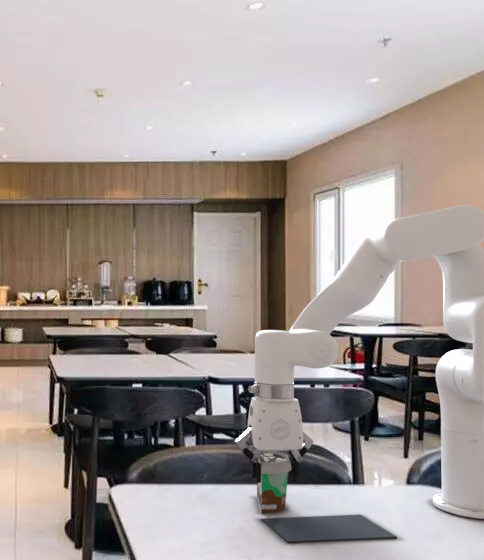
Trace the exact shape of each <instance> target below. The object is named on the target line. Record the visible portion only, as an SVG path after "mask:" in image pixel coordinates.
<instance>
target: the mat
mask: <svg viewBox="0 0 484 560" xmlns="http://www.w3.org/2000/svg"><path fill="white" fill-rule="evenodd" d="M260 520H261V522H263V524H265V525H266V526H267V527H268V528H269V529H271V530H272V531H273V532H274V534H276V535H278V536H279V538H281V539H282V540H283V541H284V542H286V543H287V544H298V543H299V544H302V543H303V544H304V543H305V544H306V543H322V542H324V543H325V542H345V541H347V542H348V541H369V540H391V539H393V540H395V539H398V536H397V535H395V534H393V533H391V532H390V531H388V530H387V529H385V528H383V527H382V526H380V525H378V524H377V523H376V522H374V521H372V520H370V519H369V518H367V517H365V516H363V515H362V514H345V515H343V514H341V515H318V516H316V515H315V516H293V517H292V516H291V517H272V518H271V517H269V518H268V517H267V518H260Z"/></svg>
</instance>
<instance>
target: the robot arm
mask: <svg viewBox="0 0 484 560" xmlns="http://www.w3.org/2000/svg"><path fill="white" fill-rule="evenodd" d="M483 242H484V210H483V209H481V208H480V207H478V206H475V205H472V204H459V205H454V206H450V207H446V208H441V209H437V210H433V211H428V212H424V213H423V212H422V213H419V214H414V215H413V214H412V215H408V216H401V217H396V218H393V219H389V220H384V221H381V222H377V223H375V224H374V225H371V227H370V228H368V229H367V230H366V232H365V233H364V234H363V236H362V237H361V238H360V240H359V241H358V243H357V244H356V245H355V247H354V248H353V250H352V251H351V253H349V256H348V257H347V258H346V260H345V262H344V263H343V264H342V266H341V267H340V269H339V270H338V272H337V273H336V275H334V277H333V278H332V280H331V281H330V282H329V283H328V284H327V285H326V286H324V288H322V290H320V292H319V293H318V294H317V295H316V296H315V297H314V298H313V299H312V300H311V301H310V302H309V303H308V304H307V305H306V307H305V308H303V310H302V312H301V313H300V314H299V316H298V317H297V318H296V320H295V321H294V322H293V324H292V325H291V327H290V329H289V330H282V329H281V330H280V329H279V330H278V329H263V330H258V331H257V332H256V334H255V335H254V382H253V385H249V386H248V388H247V391H248V393H250V394H253V395H254V396H252V397H251V400H250V404H249V409H248V417H247V429H246V430H245V431H244V432H243V433H242V434H240V435H239V436H238V437H236V438H235V440H234V444H235V445H236V447H237V448H238V449H239V450H240V452H241V453H242V454H243V455H244V456H245V457H246V458H247V459H248V460H249V461H248V462H249V467H248V468H249V469H248V471H249V477H250V478H251V480H252V481H253V482H255V483H256V484H257V483H260V482H261V464H260V463H259V462H258V460H259V458H260V456H261V454H262V452H263V451H277V452H280V451H281V452H284V451H286V452H287V454H288V457H289V460H290V463H291V468H292V469H291V471H289V472H288V480H291V482H292V483H298V477H299V476H300V462H301V461H302V460H303V457H304V456H305V455H306V454H307V453H308V450H310V448H311V446H312V445H313V444H314V440H313V439H312V438H311V437H310V436H309V435H308V434H307V433H305V432H304V429H303V419H302V412H301V407H300V402H299V399H298V398H295V366H296V367H303V368H310V369H324V368H328V367H329V366H331V365H333V364H334V363H335V362H336V360H337V359H338V356H339V354H340V353H339V352H340V349H339V345H338V342H337V341H336V339H335V338H334V337H333V336H332V335H331V334H332V332H333V331H334V329H335V328H336V327H337V326H338V325H339V324H341V322H342V321H344V320H345V319H346V318H348V317H349V316H351V315H353V314H355V313H357V312H359V311H361V310H363V309H364V308H366V307H367V306H368V305H370V304H371V303H372V302H373V301H374V300H375V299H376V297H377V296H378V295H379V293H380V291H381V290H382V288H383V287H384V285H385V284H386V283H387V281H388V279H390V276H391V275H392V274H393V273H394V271H395V270H396V269H397V266H398V265H399V264H400V263H402V262H403V263H405V262H411V261H417V260H423V259H428V258H434V259H435V260H436V261H437V263H438V264H439V267H440V269H441V274H442V283H443V291H442V292H443V295H442V297H443V300H442V301H443V303H442V324H443V328H444V331H445V333H446V334H447V335H448V336H449V337H450V338H452V339H453V340H456V341H459V342H463V343H469V344H472V349H470V348H458V349H453V350H450V351H448V352H445V354H444V355H441V357H440V359H439V360H438V362H437V364H436V366H435V382H436V387H437V392H438V399H439V405H440V407H439V409H440V465H441V469H440V470H441V479H440V481H441V493H438V494H435V495H434V496H433V497H432V503H433V505H434V506H435V507H436V508H438V509H440V510H442V511H444V512H447V513H450V514H453V515H456V516H461V517H466V518H472V519H480V520H484V248H483V247H482V246H481V244H482V243H483ZM246 443H247V444H248V445H250V446H251V447H250V448H248V447H247V445H246Z"/></svg>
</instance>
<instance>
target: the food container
mask: <svg viewBox="0 0 484 560" xmlns="http://www.w3.org/2000/svg"><path fill="white" fill-rule="evenodd" d="M289 458H290V456H289V455H287V454H285V453H284V452H280V451H263V452H262V454H261V456H260V458H259V460H258V462H259V463H260V464H261V482H260V483H256V499H257V503H258V506H259V510H260V513H261V514H276V513H281V512H283V511H285V509H286V501H287V491H288V490H287V489H288V480H289V478H288V472H289V471H291V469H292V468H291V463H290V460H289Z"/></svg>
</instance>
